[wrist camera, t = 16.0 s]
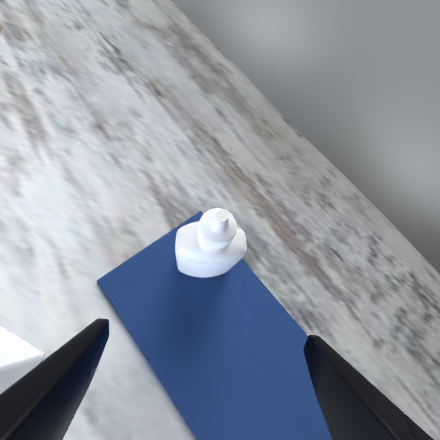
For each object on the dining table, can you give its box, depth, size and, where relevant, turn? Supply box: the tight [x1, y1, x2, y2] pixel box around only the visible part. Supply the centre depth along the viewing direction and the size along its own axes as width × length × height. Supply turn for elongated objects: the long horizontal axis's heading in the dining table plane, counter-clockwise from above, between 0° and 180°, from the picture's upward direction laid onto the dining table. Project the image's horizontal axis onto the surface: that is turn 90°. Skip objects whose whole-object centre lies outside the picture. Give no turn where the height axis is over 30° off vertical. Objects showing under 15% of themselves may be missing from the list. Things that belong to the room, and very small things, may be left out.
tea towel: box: [97, 211, 332, 440], centre depth 19 cm, size 30×13×1 cm, turn 40°
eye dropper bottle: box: [175, 208, 247, 278], centre depth 17 cm, size 4×6×12 cm
